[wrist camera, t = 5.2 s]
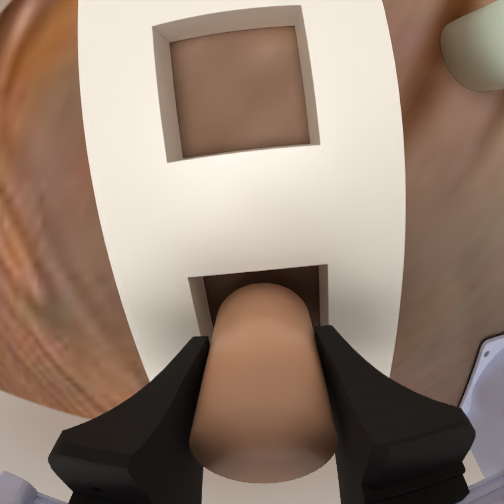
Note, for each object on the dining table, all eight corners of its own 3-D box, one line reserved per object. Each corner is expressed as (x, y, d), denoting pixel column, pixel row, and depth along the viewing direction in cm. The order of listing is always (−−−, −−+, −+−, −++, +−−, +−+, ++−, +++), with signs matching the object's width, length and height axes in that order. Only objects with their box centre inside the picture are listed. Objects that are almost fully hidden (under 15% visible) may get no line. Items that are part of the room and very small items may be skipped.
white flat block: (372, 376, 17) (383, 404, 15) (175, 392, 18) (167, 421, 16) (352, -29, 10) (366, -52, 8) (102, 6, 11) (78, -10, 8)
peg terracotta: (310, 357, 14) (331, 477, 8) (223, 363, 14) (205, 483, 8) (309, 278, 13) (344, 396, 7) (209, 286, 13) (172, 405, 7)
